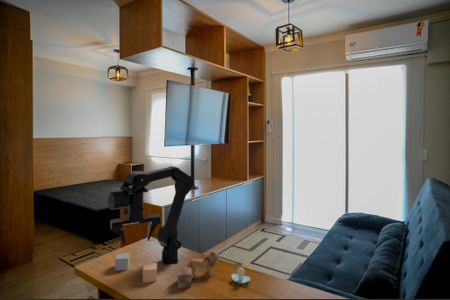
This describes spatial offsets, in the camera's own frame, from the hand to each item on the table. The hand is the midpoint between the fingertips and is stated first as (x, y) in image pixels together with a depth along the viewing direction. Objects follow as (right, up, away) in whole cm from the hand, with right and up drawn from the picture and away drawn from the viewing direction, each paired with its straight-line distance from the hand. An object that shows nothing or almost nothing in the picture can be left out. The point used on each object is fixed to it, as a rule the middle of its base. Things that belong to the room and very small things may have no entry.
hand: (136, 242), depth 109 cm
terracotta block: (+6, -14, -2) cm, 15 cm away
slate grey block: (-8, -13, +6) cm, 16 cm away
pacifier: (+42, -15, -2) cm, 44 cm away
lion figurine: (+26, -14, +2) cm, 30 cm away
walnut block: (+20, -14, -5) cm, 25 cm away
